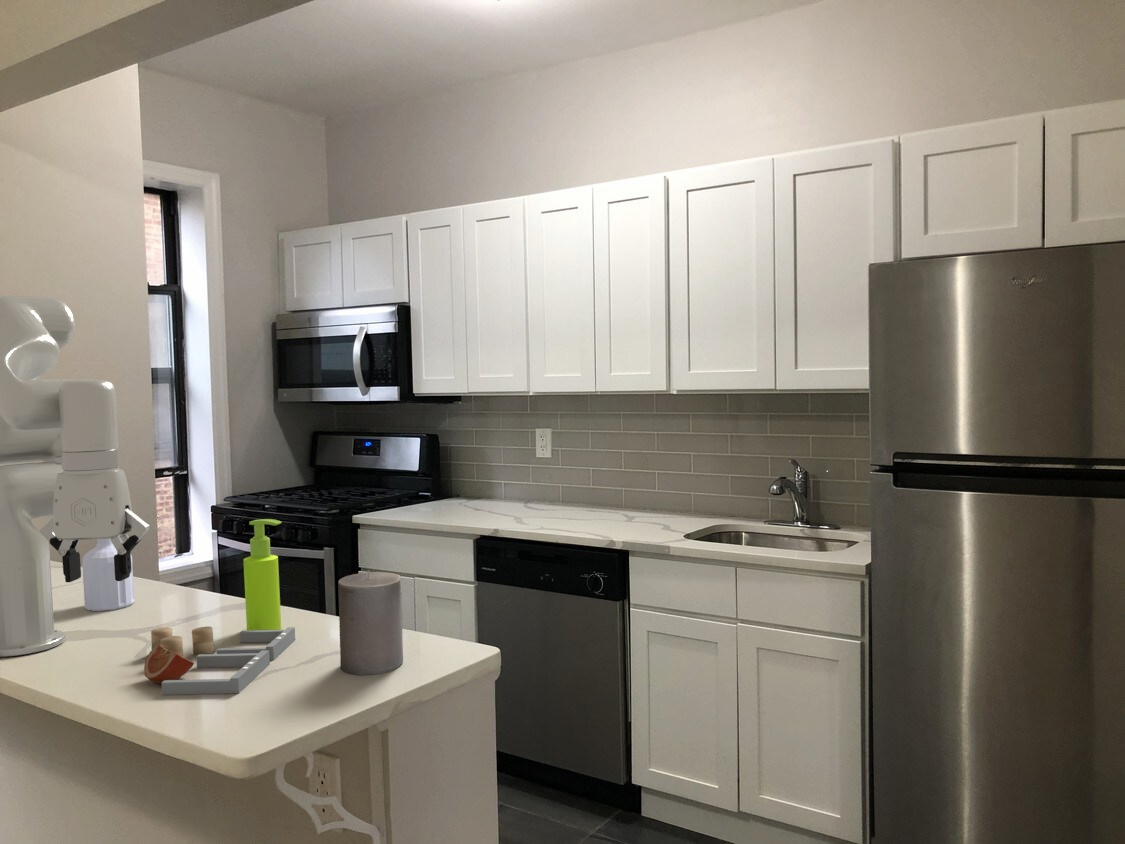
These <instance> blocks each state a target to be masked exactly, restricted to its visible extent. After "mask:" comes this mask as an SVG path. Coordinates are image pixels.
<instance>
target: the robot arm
mask: <svg viewBox="0 0 1125 844" xmlns="http://www.w3.org/2000/svg"><path fill="white" fill-rule="evenodd" d="M75 328H76V323H75V316H74V315H73V312H72V310H71V309H70V308H69V306H68V305H67V304H66V303H65V302H63V301H62V300H60V299H58V298H55V297H46V296H21V295H20V296H19V295H0V658H1V657H2V658H3V657H6V658H7V657H14V656H23V655H29V654H33V653H38V652H42V651H46V650H49V649H53V648H54V647H57V646H59V645H61V644H63V643H64V641H66V633H65V632H64V631H62V630H58V629H55V621H54V619H55V618H54V601H53V588H52V587H53V586H52V585H53V584H52V572H51V570H52V568H51V567H52V566H51V553H50V546H52V547H53V548H54V549H55V550H56V551H57V553H58V555H59V556H60V557H62V571H63V572H62V573H63V575H64V579H65V583H71V582H75V581H76V580H79V579H81V578H82V566H81V565H82V563H81V554H80V552H79V551H77V548H78V547H79V546H78V545H79V543H80V542H81V540H97V539H110V540H111V542H112V543H113V545H114V547H115V549H116V550H117V554H116V555H115V556H114V568H115V580H116V581H122V580H124V579H126V578H128V577H129V576H130V573H131V555H132V553H131V552H133V551H134V549H135V548H136V546H137V545H138V544H139V543H140V542H141V541H142V539H143V537H144V536H145V535H146V534H147V533H148V532H149V530H150V525H149V524H148V523H147V522H145V521H144V520H143V519H142V518H141V517H140V516H138V514H135V513H134V512H133V508H132V499H131V494H130V489H129V485H128V481H127V480H128V479H127V477H126V473H125V471H124V470H125V469H120V452H119V437H118V434H119V432H118V420H117V419H118V417H117V416H118V415H117V400H116V399H117V398H116V389H115V385H114V384H113V382H111V381H109V380H106V379H87V378H85V379H84V378H74V379H73V378H72V379H69V378H68V379H67V378H65V379H64V378H59V379H58V378H57V379H56V378H55V379H51V378H49V379H40V378H41V377H43V376H45V375H46V374H48V373H49V372H51V370H53V369H54V368H55V367H56V366H57V364H58V361H59V359H60V353H61V352H60V350H61V349H63V348H64V347H65V346H67V345H68V344H69V343H70V342H71V341H72V339H73V338H74V334H75ZM49 516H52V518H51V519H50V520H49V521H48V522H47V523H45V525H43V527H42V528H41V529H39V528H38V527H37V526H36V525H35V524H34V523H33V521H32V520H33V519H37V518H41V517H42V518H43V517H49ZM133 528H134V532H133V533H132V534H131V535H130V536H129V534H128V533H130V532H131V531H132V530H133Z"/></svg>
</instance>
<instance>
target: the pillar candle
mask: <svg viewBox="0 0 1125 844" xmlns="http://www.w3.org/2000/svg"><path fill="white" fill-rule="evenodd" d="M401 581H402V578H401V575H399V574H396V573H392V572H385V571H375V572H374V571H372V572H371V571H370V570H367V572H361V573H353V574H351V575H350V574H349V575H346V576H344V577H341V578H340V579H339V580H338V583H337V587H338V588H337V589H338V590H337V591H338V616H339V617H338V618H339V619H338V621H339V649H340V651H339V652H340V653H339V654H340V655H339V657H340V660H339V662H340V669H341V670H342V671H343V672H345V673H348V674H350V675H360V676H362V675H363V676H370V675H371V674H372V675H380V674H383V673H389V672H391V671H394V670H396V669H398V668H399V667H400V666H401V665H402V663H404V646H403V641H404V640H403V613H402V612H403V611H402V587H401V586H402V584H401V583H402V582H401ZM388 671H389V672H388Z"/></svg>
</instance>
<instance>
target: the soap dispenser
mask: <svg viewBox="0 0 1125 844" xmlns="http://www.w3.org/2000/svg"><path fill="white" fill-rule="evenodd" d="M282 522H283V521H280V520H277V519H272V518H264V519H263V518H262V519H254V520H251V521H249V522H248V523H249V524H248V525H250V526H253V527H254V528H253V531H254V536H253V537H252V538H250V539H249V545H250V546H249V547H250V551H249V553H250V556H248V557H245V558H243V577H244V598H245V600H244V601H245V616H246V617H245V618H246V620H245V621H246V631H247V630H282V620H281V619H282V617H281V615H282V613H281V597H280V594H281V593H280V575H279V556H278V555H276V554H275V555H274V554H271V538H270V537H268V536H267V535H265V525H270V526H273V527H275V526H278V525H280V524H282Z"/></svg>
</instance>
